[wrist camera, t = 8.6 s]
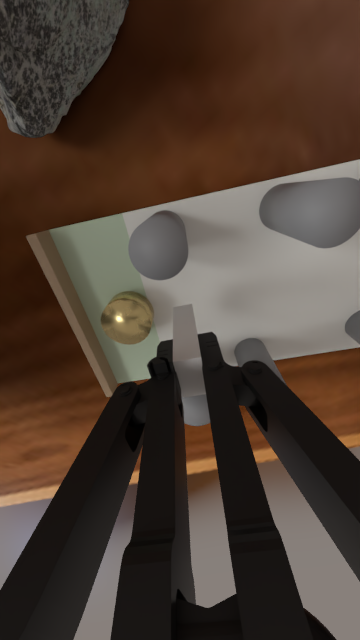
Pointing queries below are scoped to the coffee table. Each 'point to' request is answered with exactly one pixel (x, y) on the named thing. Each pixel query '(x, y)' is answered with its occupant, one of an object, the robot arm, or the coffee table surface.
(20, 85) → the stone
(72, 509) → the robot arm
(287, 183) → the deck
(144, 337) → the brass dome
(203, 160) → the coffee table surface
